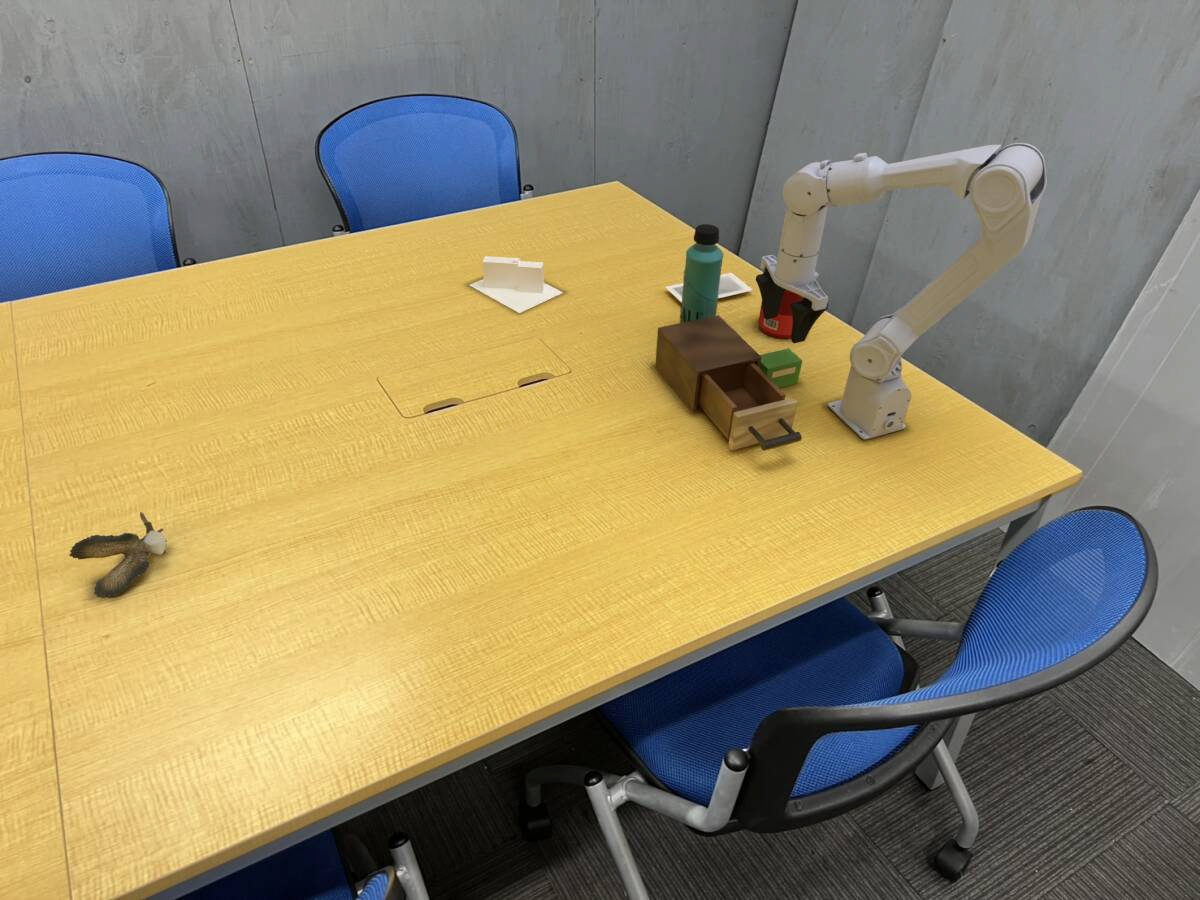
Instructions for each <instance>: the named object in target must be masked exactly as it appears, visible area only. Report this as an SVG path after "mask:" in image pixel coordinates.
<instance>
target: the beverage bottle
mask: <svg viewBox="0 0 1200 900" xmlns="http://www.w3.org/2000/svg"><path fill="white" fill-rule="evenodd" d="M693 242H695V243H694V244H691V246H689V247H688V248H687V249H686V252H685V264H684V270H683V279H682V283H683V284H684V285H683V286H682V287H683V291H682V292H683V296H682V302H681V303H680V308H679V311H680V312H679V320H678V321H679V323H683V322H688V321H693V320H697V319H702V318H707V317H712V316H717V315H718V313H717V311H718V304H719V302H718V301H719V298H718V293H719V292H718V291H719V283H720V275H722V274H721V273H722V266H723V259H724V252H723V251H722V249H721V248H720V247H719V246H718V245H717V244H718V243H719V242H720V229H719V227H718V226H716V225H713V224H709V223H704V224H699V225H697V226H696V227H695V229H694V234H693Z"/></svg>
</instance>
